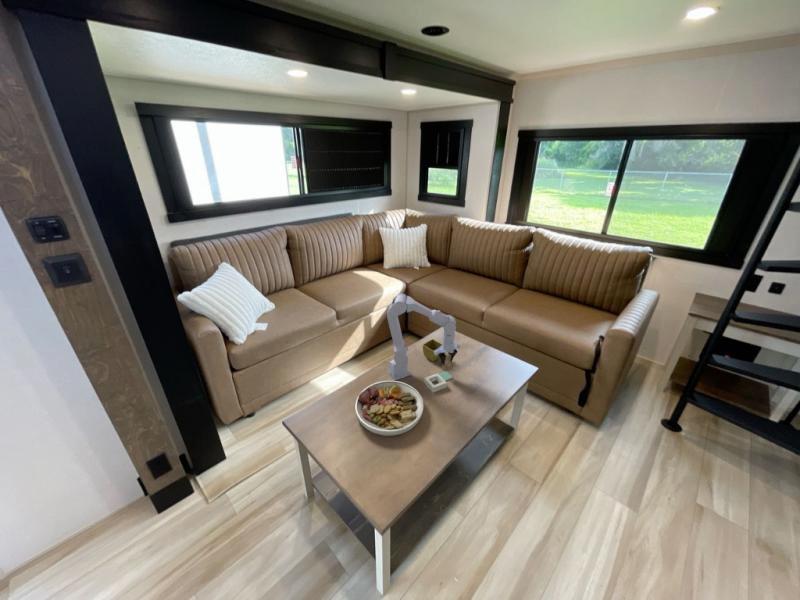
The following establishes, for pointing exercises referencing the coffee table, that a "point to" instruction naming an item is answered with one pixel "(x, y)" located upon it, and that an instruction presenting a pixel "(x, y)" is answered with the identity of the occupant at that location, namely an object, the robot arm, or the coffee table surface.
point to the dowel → (447, 363)
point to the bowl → (389, 407)
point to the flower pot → (431, 349)
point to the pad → (445, 375)
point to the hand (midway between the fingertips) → (446, 362)
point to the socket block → (436, 387)
